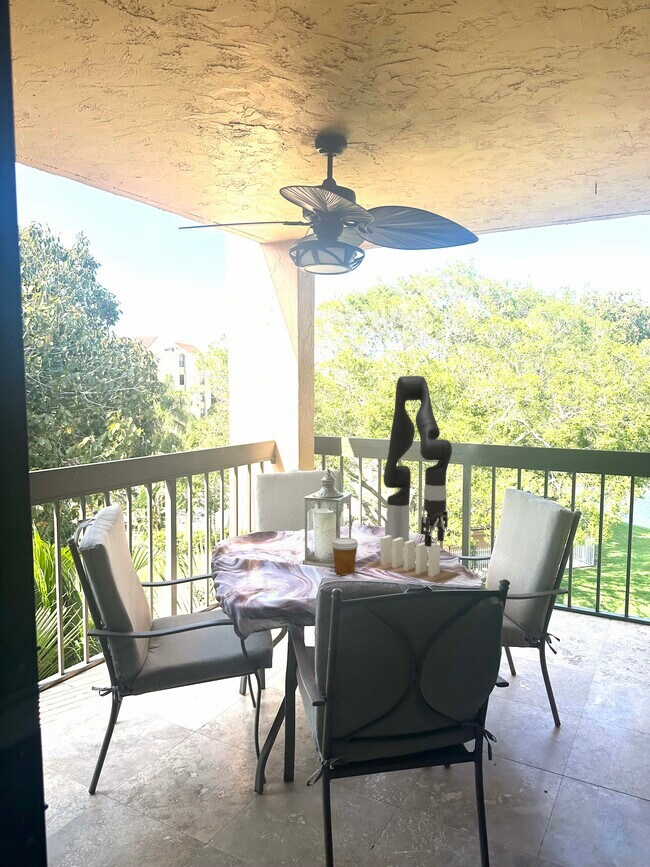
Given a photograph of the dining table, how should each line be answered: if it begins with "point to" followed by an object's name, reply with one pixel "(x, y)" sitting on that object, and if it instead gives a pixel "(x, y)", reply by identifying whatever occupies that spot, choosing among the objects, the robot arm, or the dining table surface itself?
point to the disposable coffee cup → (344, 555)
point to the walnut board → (439, 578)
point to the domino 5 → (434, 560)
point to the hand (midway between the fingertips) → (434, 543)
